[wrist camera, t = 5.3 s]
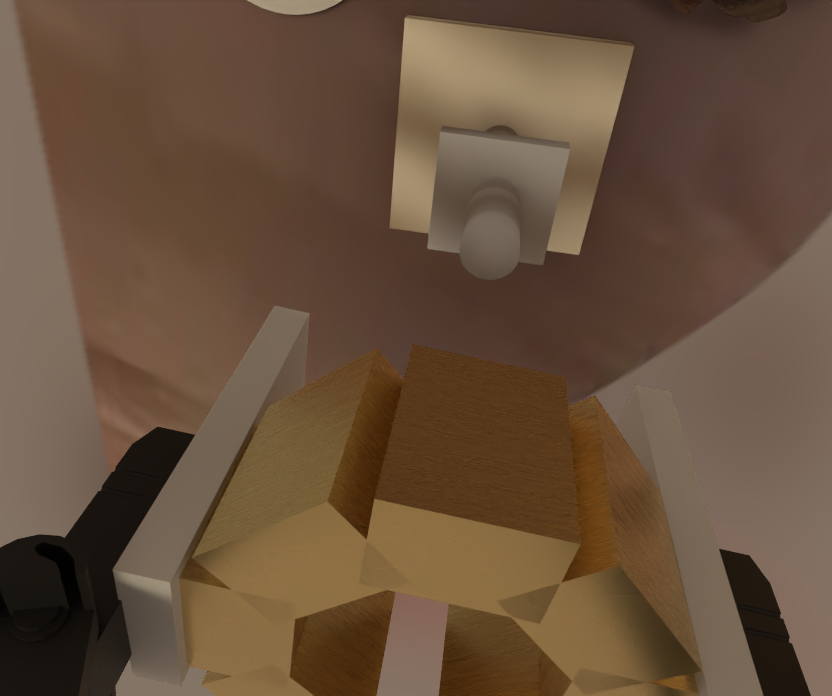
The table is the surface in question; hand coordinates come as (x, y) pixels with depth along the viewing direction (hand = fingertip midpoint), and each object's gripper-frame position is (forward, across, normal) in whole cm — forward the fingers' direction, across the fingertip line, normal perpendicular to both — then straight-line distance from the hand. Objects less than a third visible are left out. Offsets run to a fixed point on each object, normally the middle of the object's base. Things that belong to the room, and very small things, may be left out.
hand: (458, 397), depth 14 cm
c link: (-3, 0, 0) cm, 3 cm away
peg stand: (+21, 0, -1) cm, 21 cm away
